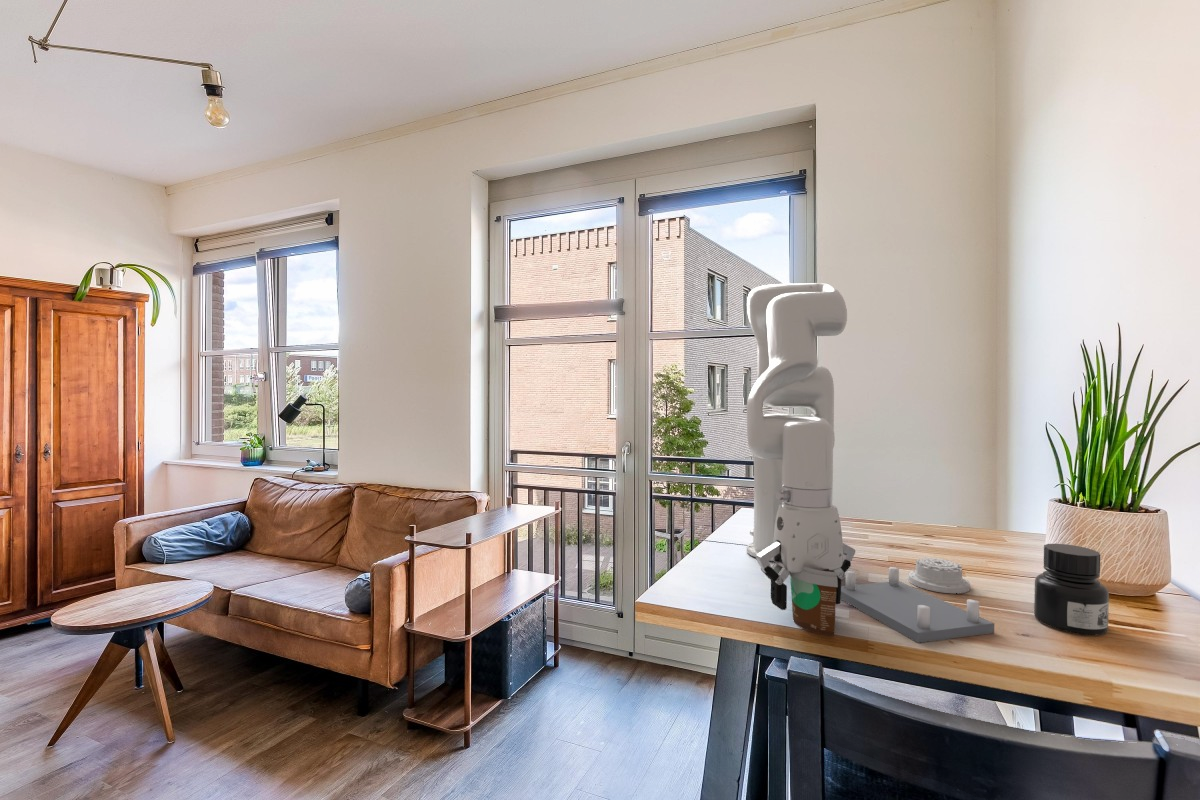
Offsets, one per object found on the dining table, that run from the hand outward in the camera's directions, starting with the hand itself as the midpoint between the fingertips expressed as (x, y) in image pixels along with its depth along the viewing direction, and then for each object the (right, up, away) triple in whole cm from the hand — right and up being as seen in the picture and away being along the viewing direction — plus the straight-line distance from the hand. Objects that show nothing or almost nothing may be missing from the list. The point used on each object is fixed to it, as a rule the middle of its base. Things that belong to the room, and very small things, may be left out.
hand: (806, 603), depth 87 cm
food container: (0, -3, 0) cm, 3 cm away
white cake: (+32, -3, +17) cm, 36 cm away
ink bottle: (+42, -3, -1) cm, 42 cm away
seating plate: (+18, -3, +4) cm, 19 cm away
